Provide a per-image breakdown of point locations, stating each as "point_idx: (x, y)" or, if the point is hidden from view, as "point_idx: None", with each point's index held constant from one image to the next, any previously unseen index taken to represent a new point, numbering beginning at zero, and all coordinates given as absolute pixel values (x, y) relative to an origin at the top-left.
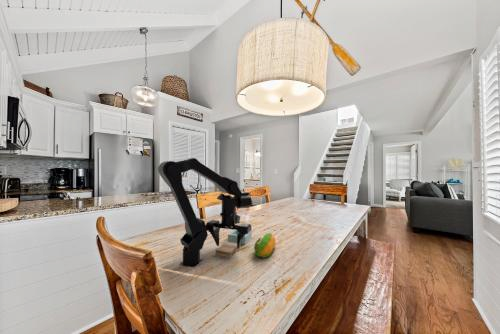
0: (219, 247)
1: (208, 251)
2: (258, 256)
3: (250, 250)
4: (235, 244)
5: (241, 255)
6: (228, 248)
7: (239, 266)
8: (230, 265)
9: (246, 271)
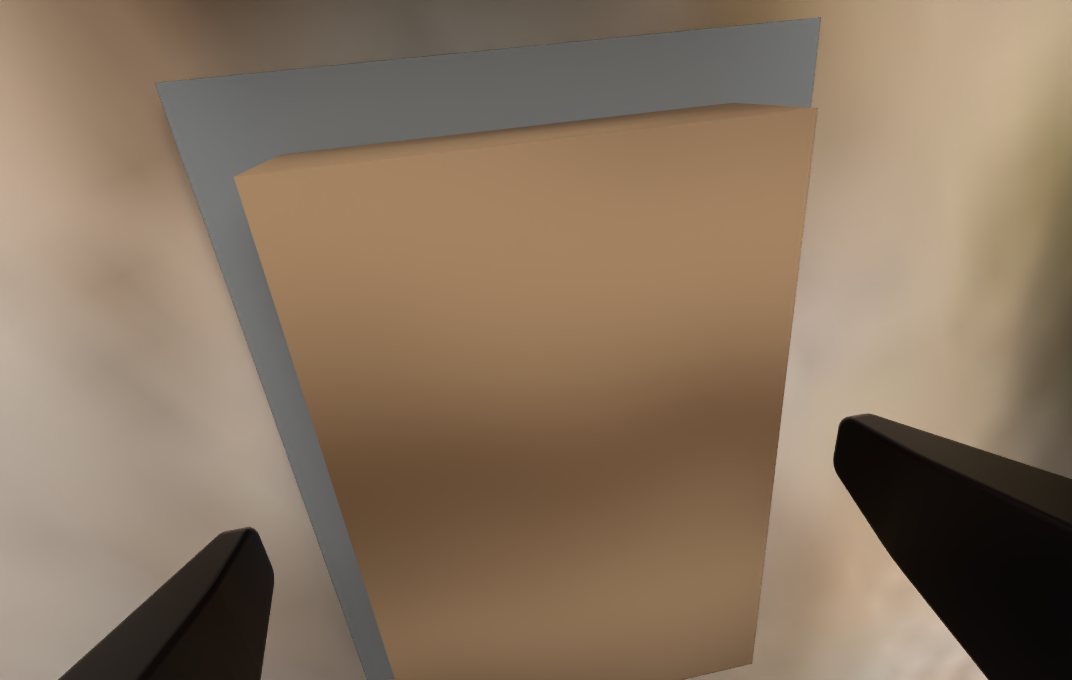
0: (380, 617)
1: (84, 532)
2: None
3: (989, 13)
4: (695, 246)
5: (828, 361)
6: (624, 558)
7: (869, 629)
8: (755, 664)
9: (961, 661)
